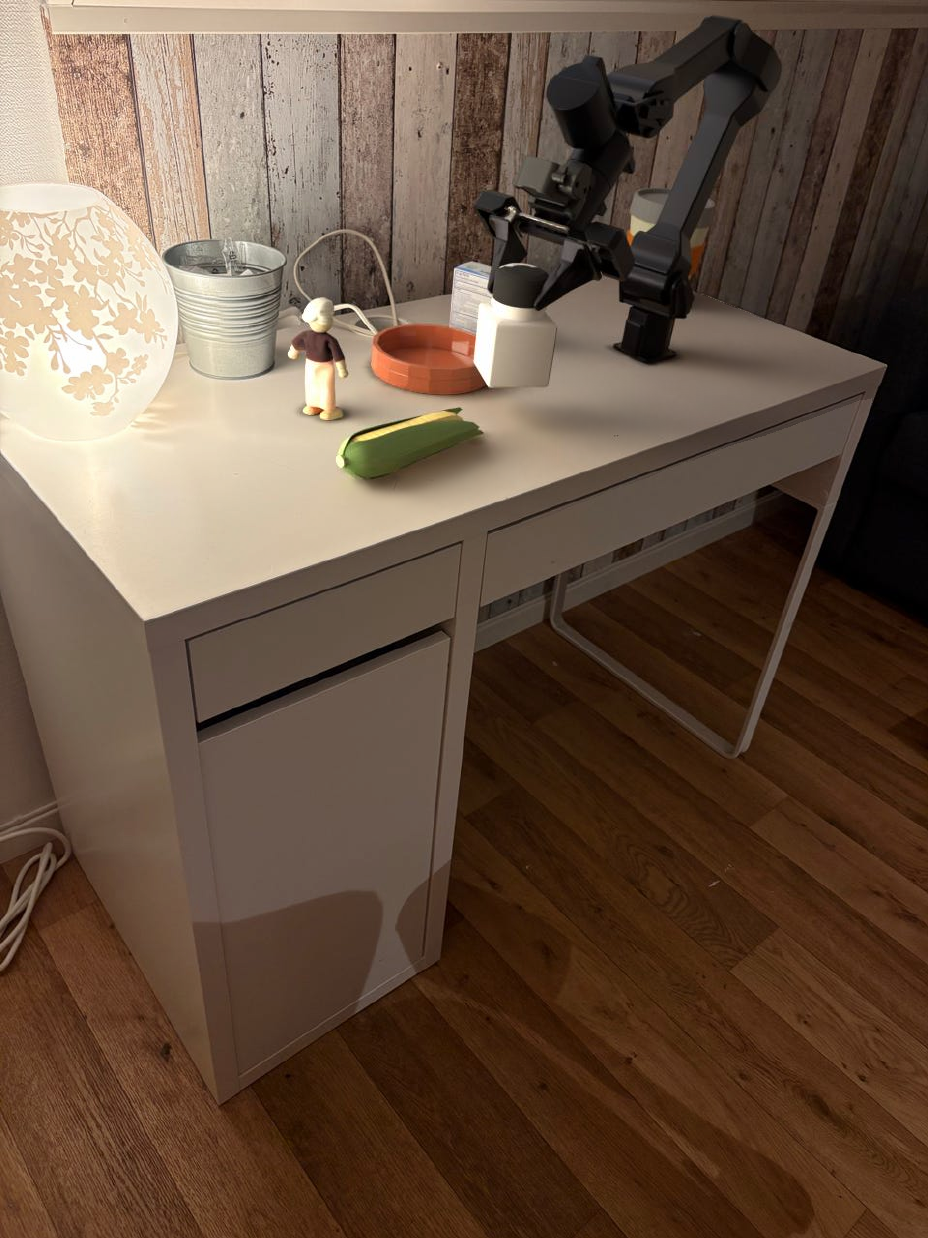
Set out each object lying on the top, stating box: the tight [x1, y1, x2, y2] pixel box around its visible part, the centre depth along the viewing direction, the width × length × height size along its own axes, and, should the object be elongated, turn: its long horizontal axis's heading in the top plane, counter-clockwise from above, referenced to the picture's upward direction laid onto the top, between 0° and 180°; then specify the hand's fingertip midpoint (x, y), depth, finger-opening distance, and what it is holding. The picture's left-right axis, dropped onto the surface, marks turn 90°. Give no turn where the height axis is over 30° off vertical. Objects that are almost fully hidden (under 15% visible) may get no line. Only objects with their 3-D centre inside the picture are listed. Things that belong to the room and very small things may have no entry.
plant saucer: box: [370, 323, 487, 395], centre depth 120 cm, size 15×15×3 cm
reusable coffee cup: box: [626, 187, 716, 282], centre depth 149 cm, size 13×13×15 cm
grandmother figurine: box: [287, 296, 349, 421], centre depth 104 cm, size 8×4×13 cm, turn 71°
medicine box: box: [448, 261, 493, 334], centre depth 130 cm, size 8×4×9 cm, turn 58°
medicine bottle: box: [474, 262, 558, 388], centre depth 107 cm, size 7×7×12 cm
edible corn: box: [335, 406, 485, 480], centre depth 99 cm, size 5×20×5 cm, turn 135°
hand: (512, 299), depth 104 cm, fingers closed on medicine bottle, 6 cm apart
